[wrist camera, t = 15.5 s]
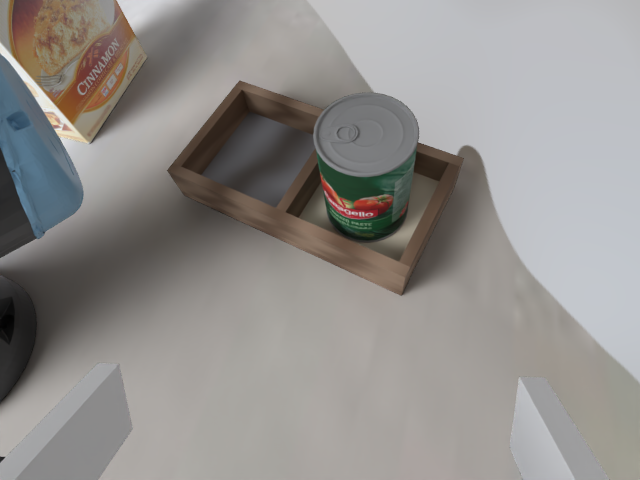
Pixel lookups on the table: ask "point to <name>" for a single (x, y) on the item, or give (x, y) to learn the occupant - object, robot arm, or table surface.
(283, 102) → the slot caddy
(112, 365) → the robot arm
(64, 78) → the coffeecake box
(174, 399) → the table surface
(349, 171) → the canned tomato
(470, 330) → the table surface
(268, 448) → the table surface
